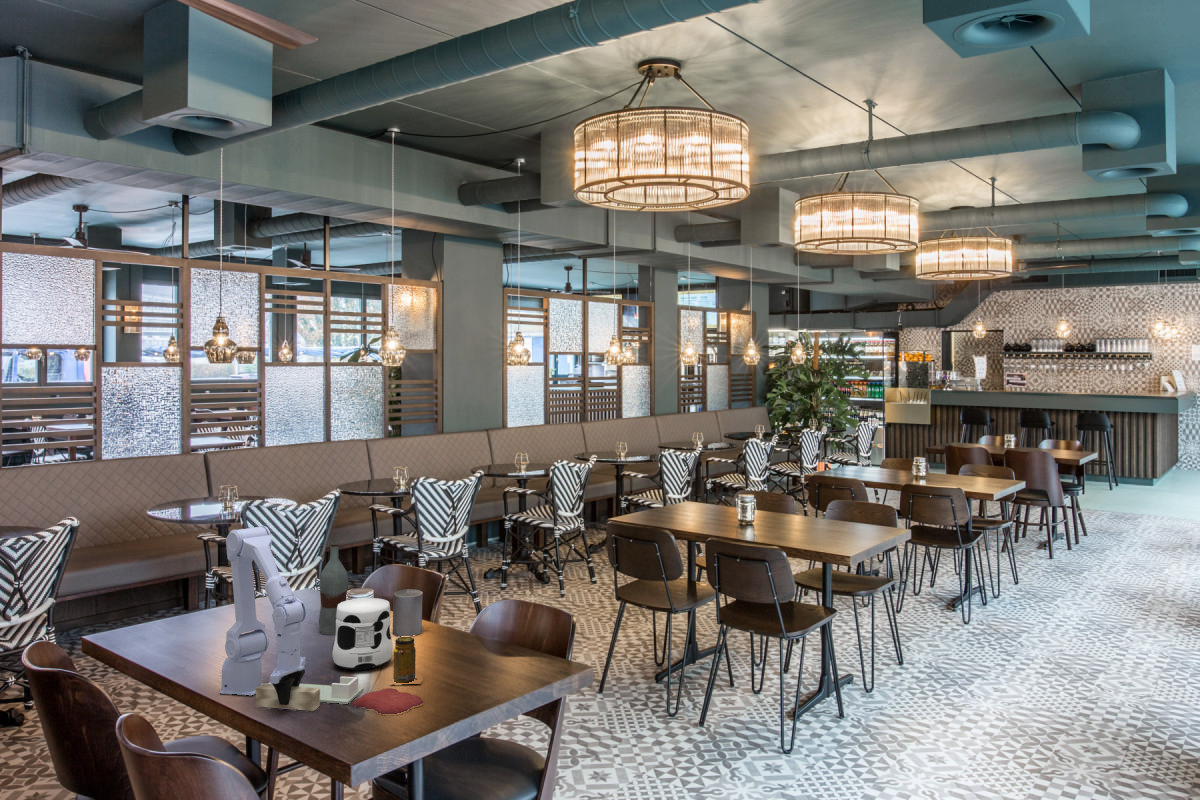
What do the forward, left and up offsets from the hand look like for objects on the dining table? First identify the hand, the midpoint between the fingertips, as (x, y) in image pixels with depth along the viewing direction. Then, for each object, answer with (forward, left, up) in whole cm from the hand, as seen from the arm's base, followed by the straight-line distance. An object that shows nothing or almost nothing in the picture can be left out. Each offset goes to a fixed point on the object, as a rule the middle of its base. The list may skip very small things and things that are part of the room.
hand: (287, 701), depth 205 cm
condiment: (+23, +23, -2) cm, 33 cm away
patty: (+24, +7, -2) cm, 25 cm away
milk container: (+5, +34, -2) cm, 34 cm away
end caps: (+2, +9, -1) cm, 9 cm away
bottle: (-18, +63, -2) cm, 65 cm away
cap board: (+2, +9, -1) cm, 9 cm away
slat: (0, 0, -2) cm, 2 cm away
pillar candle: (+7, +66, -2) cm, 66 cm away
